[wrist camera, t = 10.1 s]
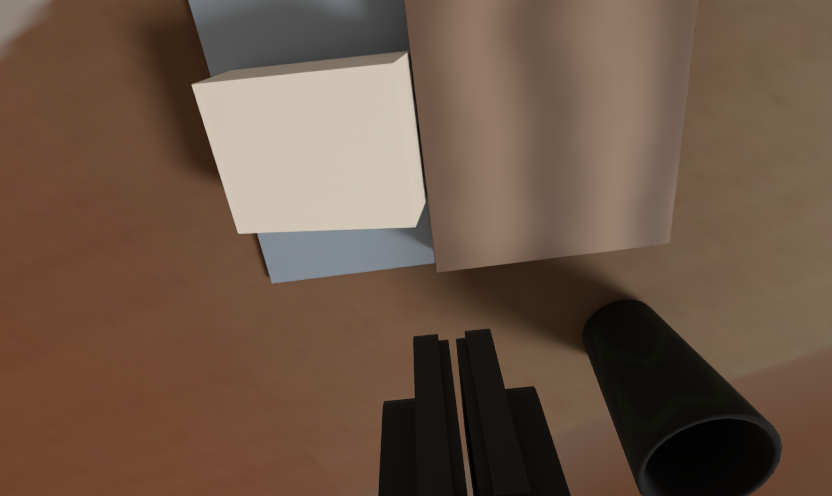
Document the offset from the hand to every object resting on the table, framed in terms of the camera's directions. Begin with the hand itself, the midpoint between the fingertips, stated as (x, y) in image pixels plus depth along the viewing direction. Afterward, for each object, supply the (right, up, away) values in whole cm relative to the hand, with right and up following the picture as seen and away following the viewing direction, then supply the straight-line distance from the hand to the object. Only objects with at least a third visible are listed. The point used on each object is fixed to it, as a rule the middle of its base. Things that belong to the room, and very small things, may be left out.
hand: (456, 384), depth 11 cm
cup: (+14, -3, +27) cm, 30 cm away
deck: (+6, +11, +19) cm, 23 cm away
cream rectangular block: (-6, +9, +17) cm, 20 cm away
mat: (-6, +9, +19) cm, 22 cm away
